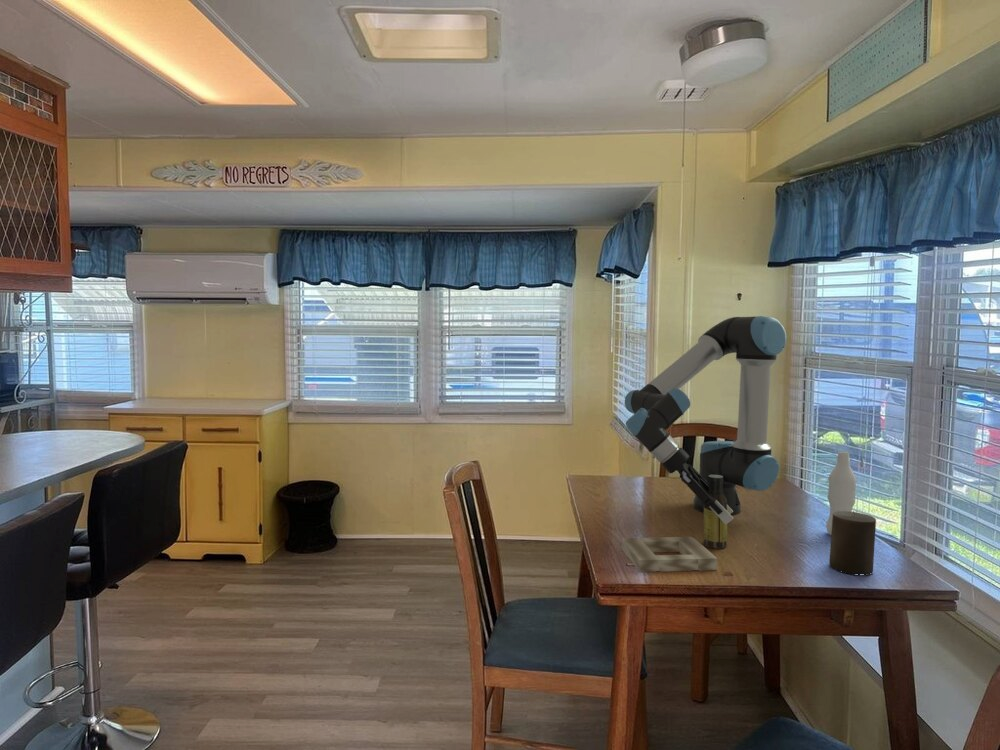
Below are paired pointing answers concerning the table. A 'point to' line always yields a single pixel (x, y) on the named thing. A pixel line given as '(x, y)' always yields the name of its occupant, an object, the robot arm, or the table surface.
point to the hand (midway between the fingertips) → (729, 517)
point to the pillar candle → (852, 542)
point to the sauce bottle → (715, 516)
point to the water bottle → (841, 487)
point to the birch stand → (689, 559)
